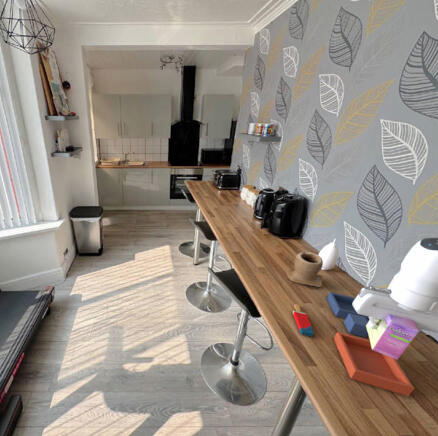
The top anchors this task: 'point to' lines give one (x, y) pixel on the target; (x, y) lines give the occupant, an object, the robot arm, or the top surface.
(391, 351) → the box
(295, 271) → the stone cup
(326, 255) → the sauce bottle
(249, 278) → the top surface
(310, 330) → the popsicle
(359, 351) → the terracotta bin
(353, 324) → the slate block
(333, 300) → the slate bin
